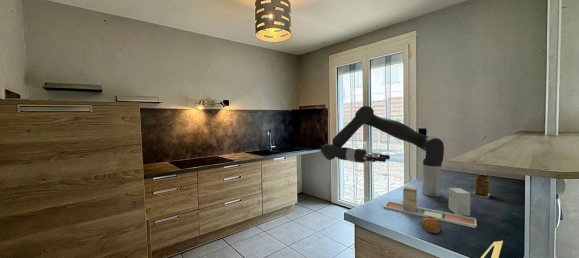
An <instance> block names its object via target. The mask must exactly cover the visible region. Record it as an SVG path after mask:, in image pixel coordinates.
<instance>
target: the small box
mask: <svg viewBox="0 0 579 258" xmlns="http://www.w3.org/2000/svg"><path fill="white" fill-rule="evenodd" d="M448 210H450V211H451V213H453V214H457V215H462V216H467V217H471V193H470V192H469V191H467V190H465V189H463V188H460V187H458V188H457V187H448Z"/></svg>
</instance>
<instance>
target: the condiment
mask: <svg viewBox="0 0 579 258" xmlns="http://www.w3.org/2000/svg"><path fill="white" fill-rule="evenodd" d="M474 182H475V183H474V191H473V193H472V194H471V195H472V196H477V197H481V198H486V199H489V198H490V196H491V193H489V190H490V180H489V175H488V174H487V173H481V172H479V173H476V174H475V179H474Z"/></svg>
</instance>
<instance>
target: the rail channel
mask: <svg viewBox="0 0 579 258" xmlns="http://www.w3.org/2000/svg"><path fill="white" fill-rule="evenodd" d="M389 203H390V204H395V205H400V206H402V207H403V203H401V202H396V201H390V200H388V201H387V202H386V203H385V204H384V205H383V209H386V210H391V211H393V212H394V211H396V212H400V213H404V214H409V215H413V216H417V217H422V218H424V217H427V216H430V215H425V214H424V213H420V212H417V211H416V212H411V211H406V210H403V209H402V208H401V209H397V208H392V207H387V205H388V204H389ZM416 210H420V211H424V212H425V211H430V212H435V213H440V214H442V215H444V216H445V215H450V216H455V217H460V218H464V219H469V220H474V224H475V225H472V224H468V223H463V222H458V221H453V220H449V219H444V218H445V217H444V218H443V217H442V218H439V217H435V216H432V217H434V218H435V219H437V220H438V221H439V222H440V221H442V222H445V223H449V224H450V223H451V224H453V225H459V226H464V227H469V228H473V229H477V228H478V224H477V218H476V217H471V216H465V215H457V214H455V213H453V212H451V213H450V212H446V211H441V210H436V209H431V208H427V207H426V208H425V207H420V206H417V208H416Z"/></svg>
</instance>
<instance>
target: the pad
mask: <svg viewBox="0 0 579 258" xmlns="http://www.w3.org/2000/svg"><path fill="white" fill-rule="evenodd" d="M423 214H425V215H430V216H435V217H439V218H443V214H440V213H435V212H430V211H424V212H423Z"/></svg>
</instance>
